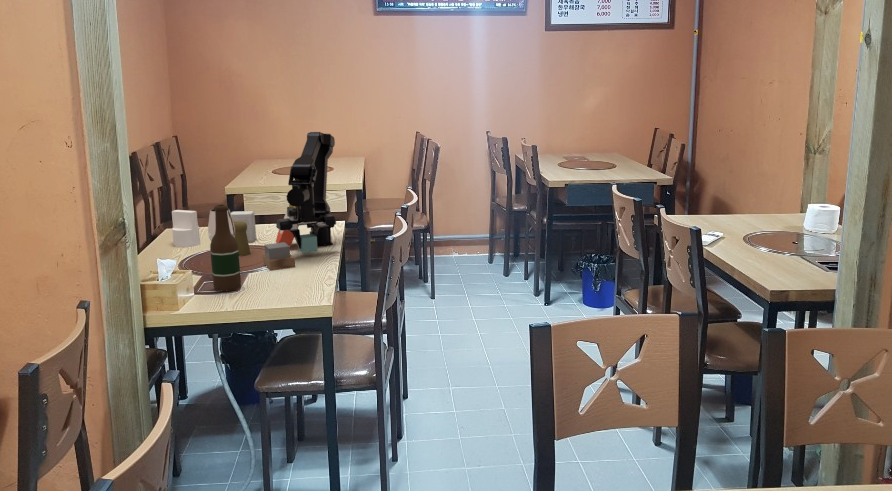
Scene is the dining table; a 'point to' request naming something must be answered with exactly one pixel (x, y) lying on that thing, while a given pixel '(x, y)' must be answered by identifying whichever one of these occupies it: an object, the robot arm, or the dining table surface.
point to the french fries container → (285, 233)
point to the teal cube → (308, 243)
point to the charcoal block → (277, 250)
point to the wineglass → (213, 224)
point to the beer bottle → (224, 254)
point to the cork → (241, 238)
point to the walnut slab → (279, 263)
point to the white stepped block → (185, 228)
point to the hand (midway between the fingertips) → (307, 247)
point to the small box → (250, 221)
